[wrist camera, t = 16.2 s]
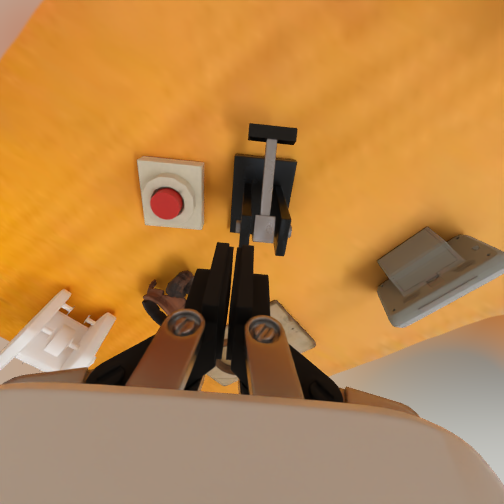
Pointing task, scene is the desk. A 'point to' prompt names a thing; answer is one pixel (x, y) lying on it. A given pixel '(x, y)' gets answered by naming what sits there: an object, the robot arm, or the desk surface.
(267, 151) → the lever
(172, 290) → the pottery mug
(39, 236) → the desk surface
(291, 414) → the robot arm
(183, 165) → the control block
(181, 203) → the button
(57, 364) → the cable organizer
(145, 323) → the desk surface
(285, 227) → the bracket
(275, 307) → the board
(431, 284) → the digital clock
